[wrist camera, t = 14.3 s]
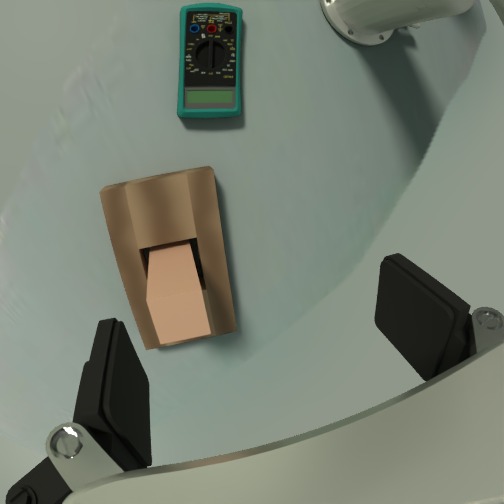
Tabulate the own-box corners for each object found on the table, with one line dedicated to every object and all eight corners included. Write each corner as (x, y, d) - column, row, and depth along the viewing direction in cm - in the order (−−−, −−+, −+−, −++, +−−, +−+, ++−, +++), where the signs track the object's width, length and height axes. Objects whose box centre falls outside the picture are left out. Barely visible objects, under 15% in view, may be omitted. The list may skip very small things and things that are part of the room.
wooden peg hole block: (209, 165, 37) (213, 169, 34) (231, 317, 46) (237, 330, 43) (105, 186, 35) (99, 192, 31) (146, 335, 44) (146, 349, 40)
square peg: (188, 237, 40) (201, 289, 27) (195, 271, 42) (211, 333, 29) (150, 244, 39) (146, 300, 26) (158, 279, 41) (160, 344, 28)
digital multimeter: (238, 10, 31) (244, 2, 28) (237, 118, 36) (242, 117, 34) (179, 9, 29) (181, 0, 26) (176, 119, 34) (177, 118, 32)
